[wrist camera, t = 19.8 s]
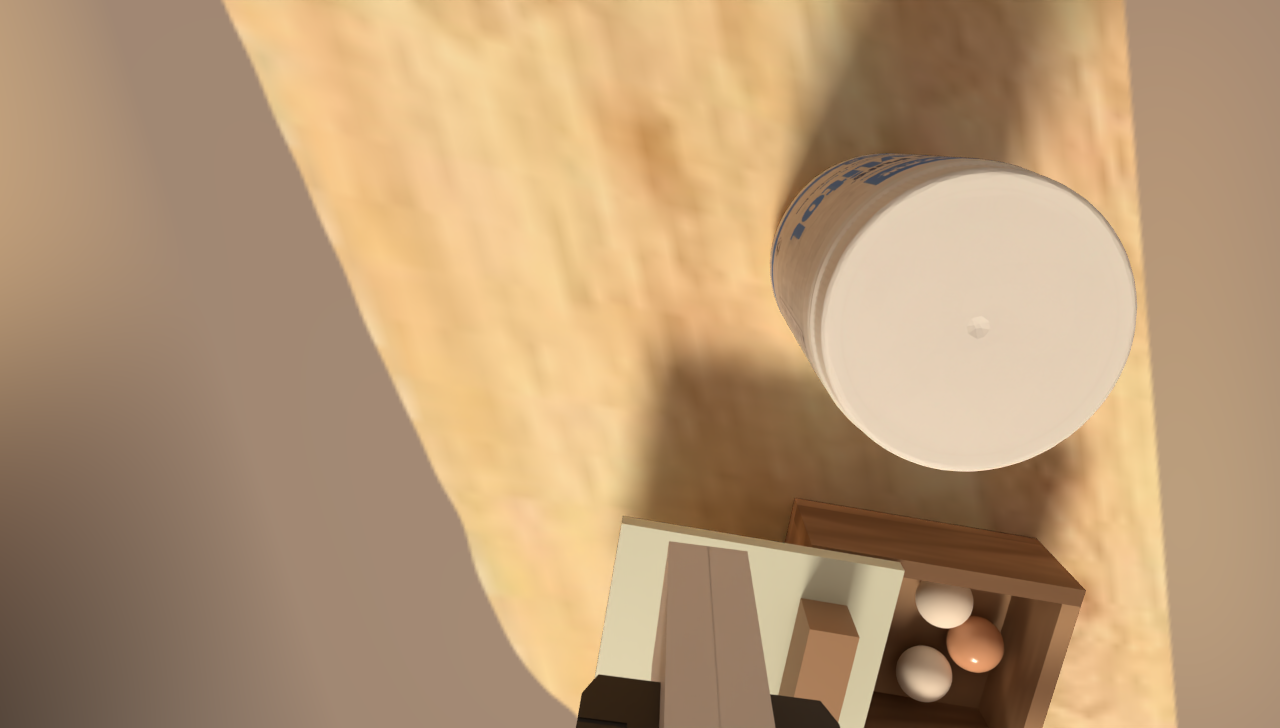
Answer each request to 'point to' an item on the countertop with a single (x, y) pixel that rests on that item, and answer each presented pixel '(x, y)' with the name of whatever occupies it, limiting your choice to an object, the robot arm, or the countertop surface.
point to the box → (1002, 593)
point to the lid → (766, 613)
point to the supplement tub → (955, 304)
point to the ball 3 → (975, 645)
